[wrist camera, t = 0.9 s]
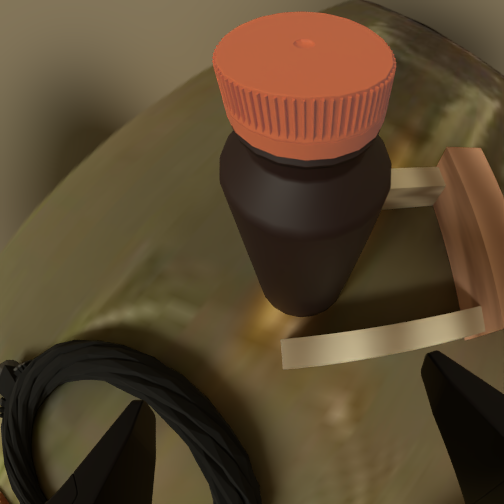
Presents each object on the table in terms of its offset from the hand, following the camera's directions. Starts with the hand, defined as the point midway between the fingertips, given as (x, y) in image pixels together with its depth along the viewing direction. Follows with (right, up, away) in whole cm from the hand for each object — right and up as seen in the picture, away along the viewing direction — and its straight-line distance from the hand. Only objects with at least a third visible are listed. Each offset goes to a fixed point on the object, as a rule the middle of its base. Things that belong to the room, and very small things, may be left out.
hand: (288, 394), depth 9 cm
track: (+11, +3, +16) cm, 19 cm away
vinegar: (+3, +2, +17) cm, 17 cm away
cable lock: (-15, -16, +12) cm, 25 cm away
